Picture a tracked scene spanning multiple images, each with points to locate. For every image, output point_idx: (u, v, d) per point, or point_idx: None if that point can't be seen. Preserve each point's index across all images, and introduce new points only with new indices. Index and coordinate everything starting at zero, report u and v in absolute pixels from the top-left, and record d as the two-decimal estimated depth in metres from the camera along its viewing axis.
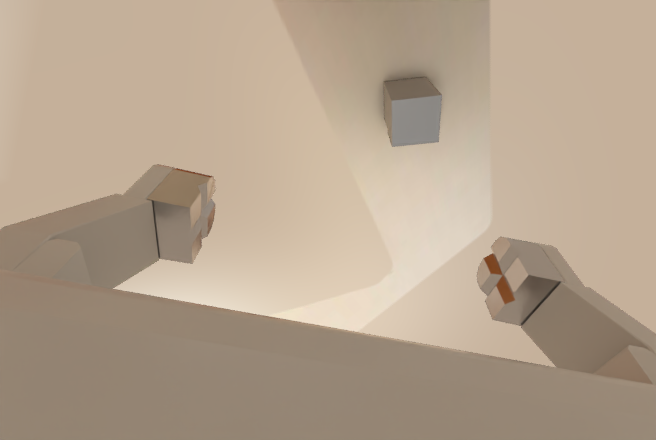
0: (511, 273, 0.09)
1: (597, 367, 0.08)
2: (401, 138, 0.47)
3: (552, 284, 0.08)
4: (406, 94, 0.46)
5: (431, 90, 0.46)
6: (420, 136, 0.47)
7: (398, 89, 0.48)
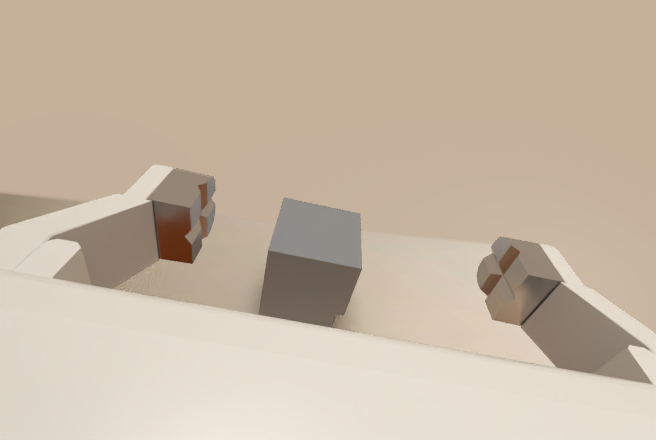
0: (510, 273, 0.09)
1: (598, 366, 0.08)
2: (347, 253, 0.24)
3: (552, 284, 0.08)
4: None
5: None
6: (347, 229, 0.26)
7: None
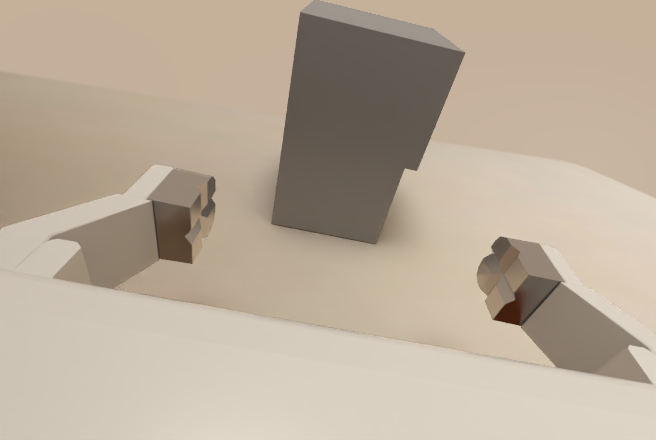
0: (511, 273, 0.09)
1: (597, 367, 0.08)
2: (433, 40, 0.14)
3: (552, 284, 0.08)
4: None
5: None
6: (421, 30, 0.16)
7: None
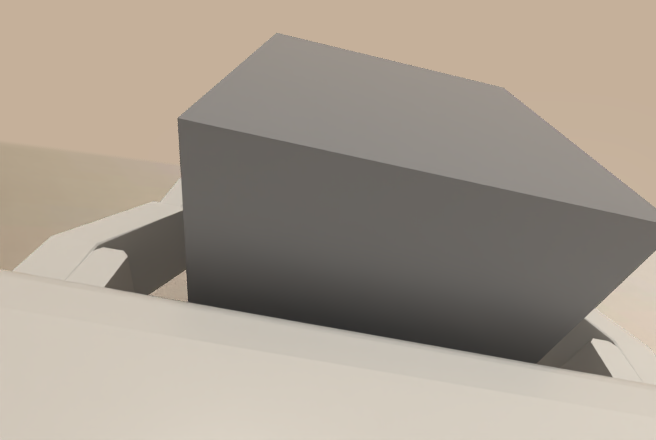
0: None
1: (565, 361, 0.08)
2: (559, 166, 0.05)
3: None
4: None
5: None
6: (496, 108, 0.07)
7: None
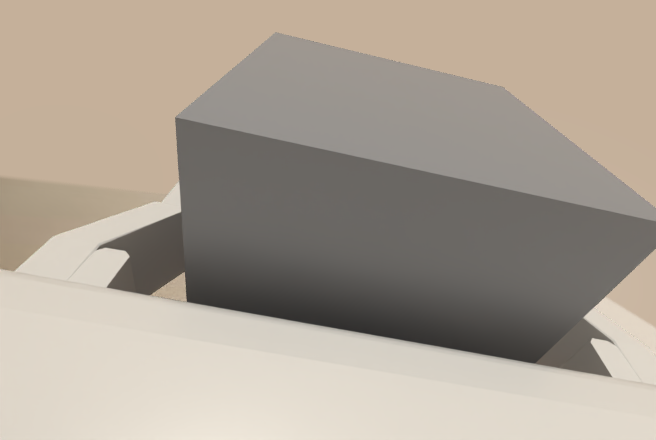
0: None
1: (565, 361, 0.08)
2: (558, 164, 0.05)
3: None
4: None
5: None
6: (496, 107, 0.07)
7: None
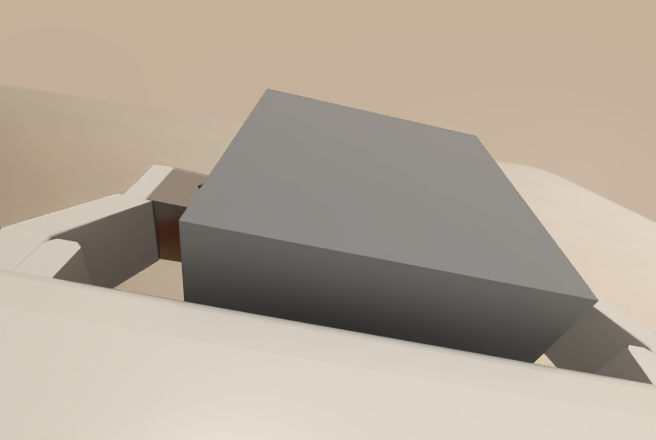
0: None
1: (598, 367, 0.08)
2: (507, 237, 0.06)
3: None
4: None
5: None
6: (464, 166, 0.08)
7: None
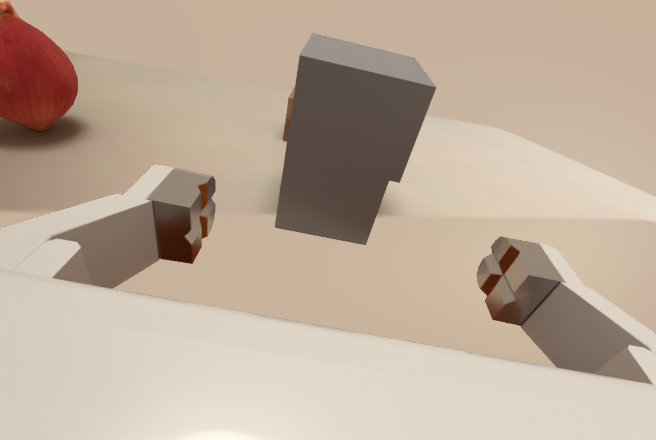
0: (510, 272, 0.09)
1: (597, 367, 0.08)
2: (411, 75, 0.17)
3: (552, 284, 0.08)
4: None
5: None
6: (403, 63, 0.19)
7: None
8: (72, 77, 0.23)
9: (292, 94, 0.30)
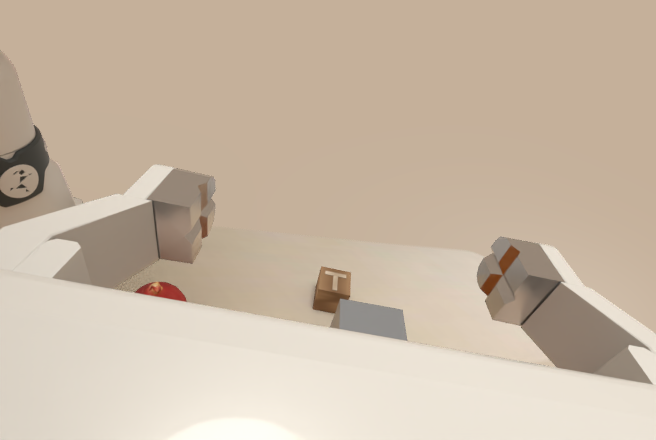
0: (510, 273, 0.09)
1: (598, 367, 0.08)
2: None
3: (552, 284, 0.08)
4: None
5: (334, 320, 0.35)
6: (394, 328, 0.32)
7: None
8: None
9: (320, 283, 0.43)
